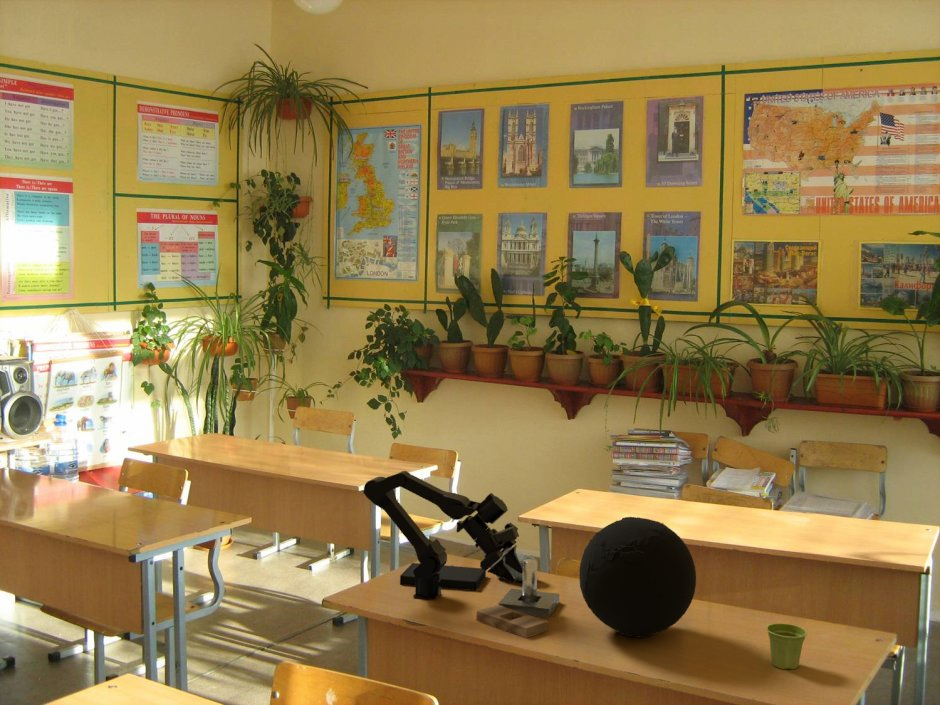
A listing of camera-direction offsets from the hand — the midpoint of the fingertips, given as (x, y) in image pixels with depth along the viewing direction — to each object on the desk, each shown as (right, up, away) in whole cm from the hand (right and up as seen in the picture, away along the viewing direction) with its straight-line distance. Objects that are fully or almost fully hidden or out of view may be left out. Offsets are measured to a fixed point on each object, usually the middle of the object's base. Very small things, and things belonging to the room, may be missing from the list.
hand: (518, 577), depth 285 cm
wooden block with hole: (-3, -9, -15) cm, 18 cm away
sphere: (+29, -10, -20) cm, 37 cm away
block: (+3, -8, 0) cm, 9 cm away
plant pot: (+62, -13, -40) cm, 75 cm away
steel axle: (+3, -8, 0) cm, 9 cm away
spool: (0, -7, +25) cm, 26 cm away
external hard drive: (-21, -7, +23) cm, 32 cm away
